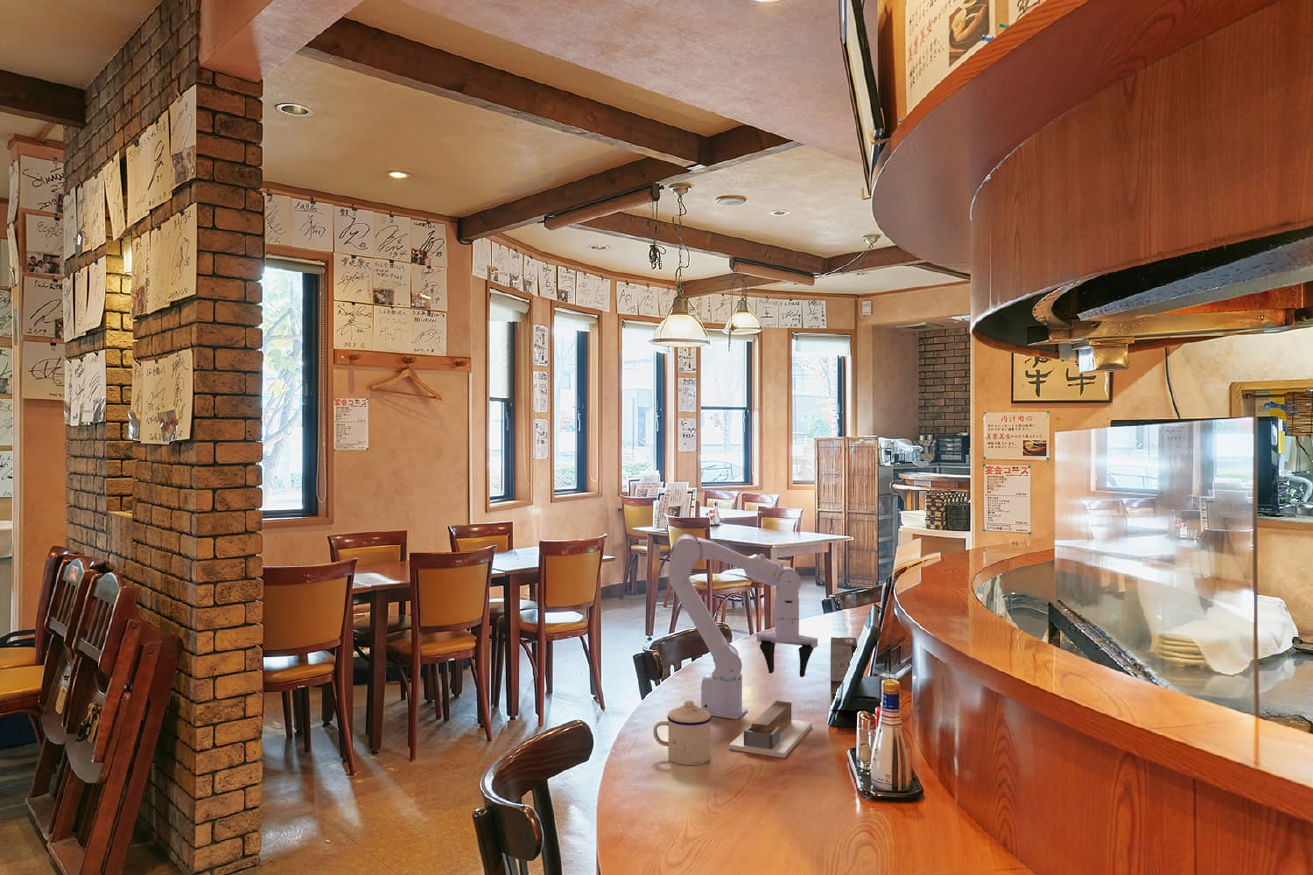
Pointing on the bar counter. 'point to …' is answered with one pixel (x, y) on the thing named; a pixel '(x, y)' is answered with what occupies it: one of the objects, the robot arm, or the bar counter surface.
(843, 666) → the coffee box
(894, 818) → the bar counter surface
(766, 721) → the rail
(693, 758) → the teacup with lid
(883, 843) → the bar counter surface
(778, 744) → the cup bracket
